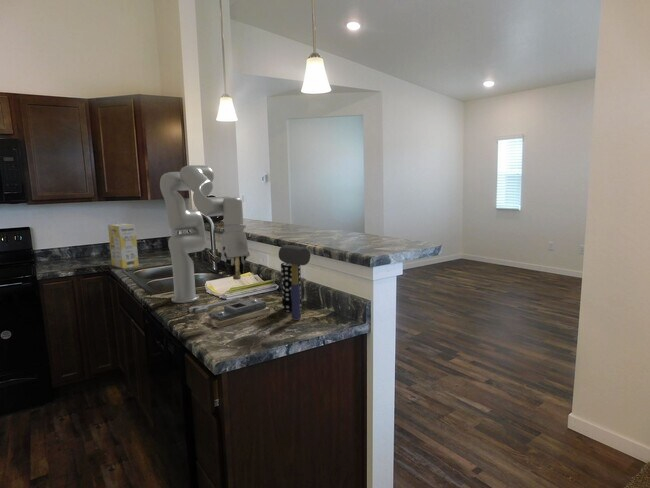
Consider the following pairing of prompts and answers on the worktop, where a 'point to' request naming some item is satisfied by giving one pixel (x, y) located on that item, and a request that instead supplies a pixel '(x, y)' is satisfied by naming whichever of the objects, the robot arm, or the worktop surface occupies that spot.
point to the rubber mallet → (295, 272)
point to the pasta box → (123, 245)
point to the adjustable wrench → (212, 305)
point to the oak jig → (236, 318)
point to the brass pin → (237, 268)
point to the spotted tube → (288, 286)
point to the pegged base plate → (238, 309)
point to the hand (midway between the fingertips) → (236, 273)
